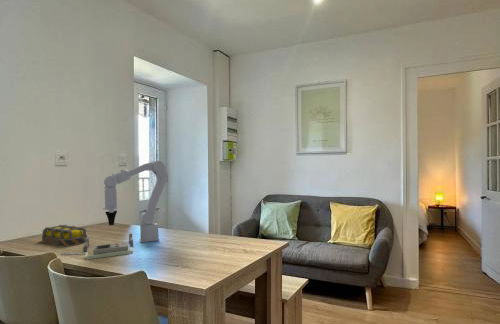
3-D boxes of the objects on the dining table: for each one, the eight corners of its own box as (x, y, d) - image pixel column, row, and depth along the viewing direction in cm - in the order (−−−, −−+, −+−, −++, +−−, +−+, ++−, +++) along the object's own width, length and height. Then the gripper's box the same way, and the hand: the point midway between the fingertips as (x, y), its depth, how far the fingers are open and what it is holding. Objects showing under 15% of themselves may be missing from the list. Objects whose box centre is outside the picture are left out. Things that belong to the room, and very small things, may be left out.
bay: (131, 249, 156) (131, 246, 156) (132, 253, 148) (132, 250, 148) (85, 254, 148) (85, 251, 148) (84, 259, 140) (84, 256, 140)
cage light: (62, 223, 193) (92, 226, 178) (63, 236, 193) (92, 241, 178) (36, 227, 181) (65, 231, 165) (36, 241, 181) (66, 247, 165)
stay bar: (63, 255, 151) (63, 252, 151) (88, 254, 150) (88, 252, 150) (61, 256, 149) (60, 253, 149) (86, 255, 149) (86, 253, 149)
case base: (132, 241, 174) (132, 232, 174) (133, 246, 162) (133, 237, 162) (85, 246, 165) (85, 237, 165) (83, 252, 153) (83, 242, 153)
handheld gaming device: (128, 253, 149) (127, 245, 149) (93, 258, 143) (92, 249, 143) (127, 249, 157) (127, 242, 157) (94, 253, 151) (94, 245, 151)
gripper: (102, 198, 172) (103, 223, 171) (102, 200, 158) (103, 228, 158) (116, 197, 175) (117, 222, 174) (117, 199, 161) (118, 226, 161)
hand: (111, 225), depth 166 cm, fingers closed
